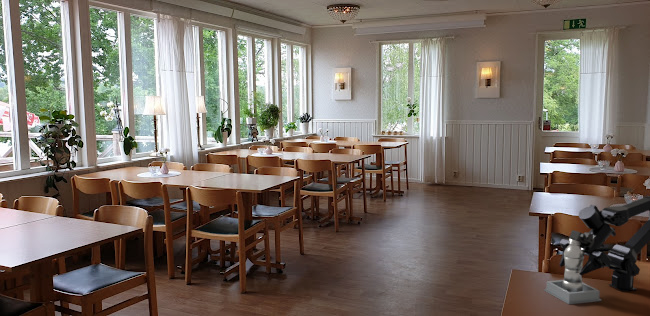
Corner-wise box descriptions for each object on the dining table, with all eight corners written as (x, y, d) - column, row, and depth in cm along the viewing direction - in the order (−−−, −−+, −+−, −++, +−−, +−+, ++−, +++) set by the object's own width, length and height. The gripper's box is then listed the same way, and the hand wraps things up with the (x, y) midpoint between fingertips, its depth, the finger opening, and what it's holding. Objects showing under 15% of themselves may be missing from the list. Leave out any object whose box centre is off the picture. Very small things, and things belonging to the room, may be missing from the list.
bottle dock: (575, 287, 185) (575, 278, 184) (601, 300, 172) (602, 291, 172) (544, 290, 182) (544, 281, 182) (568, 304, 169) (569, 294, 169)
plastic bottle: (586, 296, 175) (590, 240, 173) (569, 297, 174) (572, 241, 171) (574, 290, 181) (577, 236, 179) (557, 291, 180) (560, 236, 178)
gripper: (564, 216, 184) (538, 248, 182) (606, 228, 167) (578, 264, 165) (580, 235, 187) (555, 267, 185) (623, 249, 170) (596, 284, 168)
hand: (570, 270), depth 176 cm, fingers open, 9 cm apart
